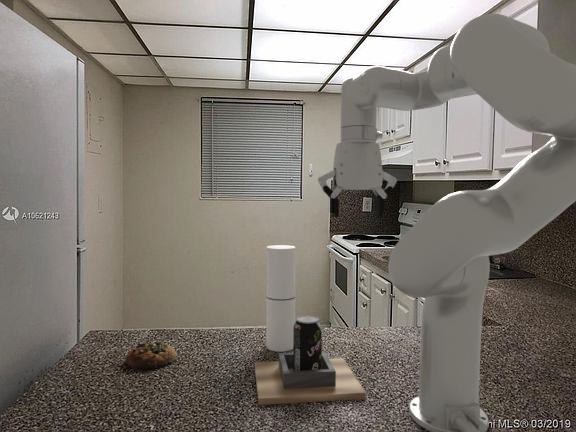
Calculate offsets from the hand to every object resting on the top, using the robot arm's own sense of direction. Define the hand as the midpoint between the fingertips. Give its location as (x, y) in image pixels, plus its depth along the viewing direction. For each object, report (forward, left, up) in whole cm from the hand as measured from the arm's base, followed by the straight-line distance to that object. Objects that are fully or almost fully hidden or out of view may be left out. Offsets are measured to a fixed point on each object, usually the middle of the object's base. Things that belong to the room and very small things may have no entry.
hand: (356, 216), depth 89 cm
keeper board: (-6, +12, -33) cm, 36 cm away
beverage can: (-6, +12, -32) cm, 35 cm away
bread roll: (+9, +45, -34) cm, 57 cm away
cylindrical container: (+14, +15, -34) cm, 39 cm away
